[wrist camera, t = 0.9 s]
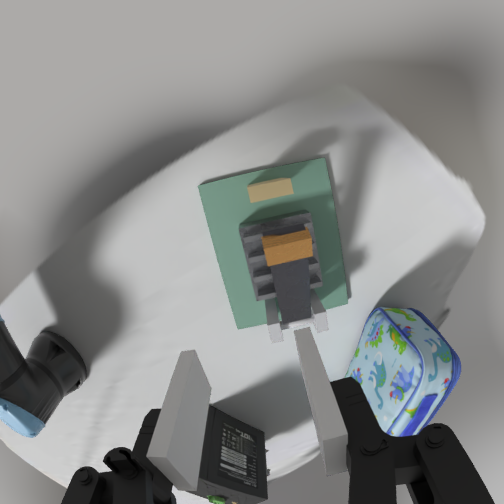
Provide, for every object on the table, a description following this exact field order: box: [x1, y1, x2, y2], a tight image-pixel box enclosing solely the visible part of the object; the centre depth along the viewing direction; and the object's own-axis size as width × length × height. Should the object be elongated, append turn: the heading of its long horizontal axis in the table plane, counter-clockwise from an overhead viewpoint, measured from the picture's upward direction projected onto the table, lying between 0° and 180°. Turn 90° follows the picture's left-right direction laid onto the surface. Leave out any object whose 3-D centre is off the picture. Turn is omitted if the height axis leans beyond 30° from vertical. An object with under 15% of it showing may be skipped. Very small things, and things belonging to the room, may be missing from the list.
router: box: [187, 405, 270, 504], centre depth 45 cm, size 8×18×20 cm, turn 50°
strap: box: [261, 223, 313, 324], centre depth 31 cm, size 4×16×2 cm, turn 13°
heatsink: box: [238, 209, 323, 301], centre depth 40 cm, size 10×11×6 cm
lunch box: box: [345, 307, 461, 437], centre depth 40 cm, size 26×11×21 cm, turn 172°
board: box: [198, 158, 348, 343], centre depth 39 cm, size 19×24×10 cm
